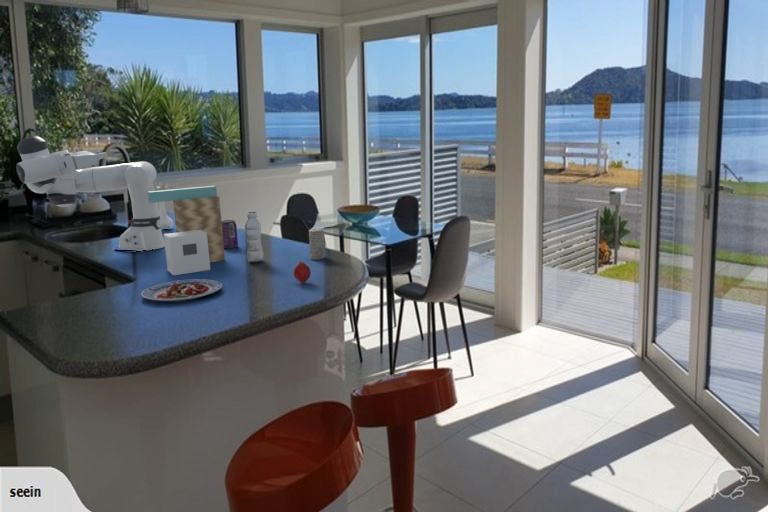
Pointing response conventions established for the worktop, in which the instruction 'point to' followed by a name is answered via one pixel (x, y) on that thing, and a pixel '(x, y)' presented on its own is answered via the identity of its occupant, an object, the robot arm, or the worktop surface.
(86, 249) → the worktop surface
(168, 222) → the flower vase
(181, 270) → the white box
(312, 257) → the carving
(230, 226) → the beverage can
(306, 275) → the red pomegranate
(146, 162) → the robot arm
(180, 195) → the teal block
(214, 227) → the oak stand
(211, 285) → the ceramic plate
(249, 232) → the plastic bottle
